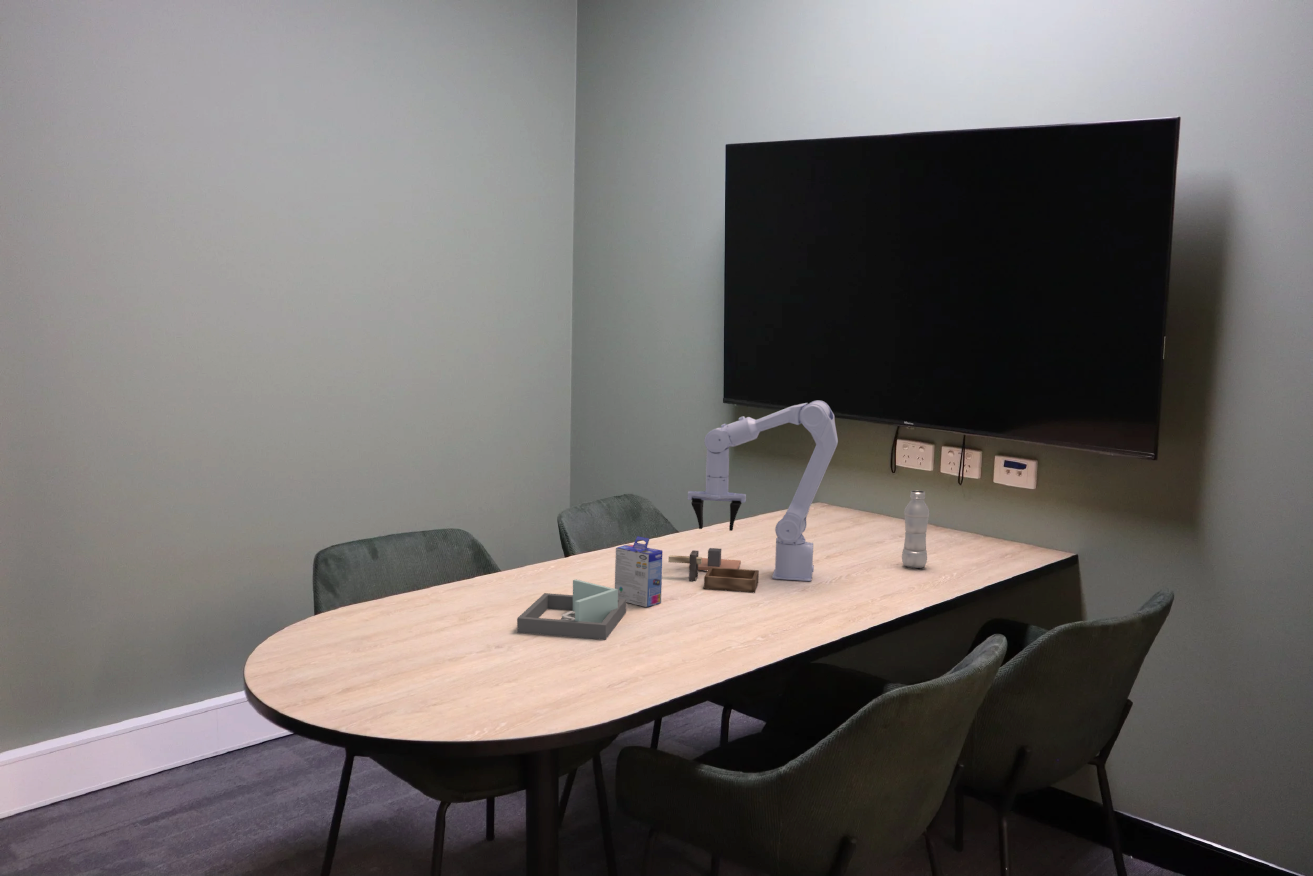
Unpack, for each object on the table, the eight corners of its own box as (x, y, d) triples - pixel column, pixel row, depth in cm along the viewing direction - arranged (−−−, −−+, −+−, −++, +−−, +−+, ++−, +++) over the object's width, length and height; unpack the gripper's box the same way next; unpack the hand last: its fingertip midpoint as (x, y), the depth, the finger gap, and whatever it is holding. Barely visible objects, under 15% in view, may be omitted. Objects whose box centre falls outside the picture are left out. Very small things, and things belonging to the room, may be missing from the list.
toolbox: (758, 581, 244) (759, 554, 243) (754, 592, 234) (755, 565, 233) (691, 576, 247) (692, 550, 246) (685, 587, 237) (685, 560, 236)
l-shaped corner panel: (575, 612, 218) (575, 579, 217) (617, 624, 210) (617, 589, 209) (536, 626, 208) (536, 591, 207) (578, 638, 201) (578, 602, 200)
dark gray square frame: (626, 612, 217) (626, 599, 216) (605, 639, 199) (605, 625, 198) (544, 606, 220) (544, 593, 220) (517, 632, 202) (517, 618, 202)
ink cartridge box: (663, 603, 224) (664, 539, 223) (647, 608, 220) (649, 544, 218) (628, 594, 230) (629, 533, 228) (613, 600, 226) (614, 537, 224)
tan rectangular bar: (701, 562, 244) (701, 557, 244) (700, 564, 243) (701, 558, 243) (669, 560, 246) (669, 555, 246) (668, 562, 244) (668, 556, 244)
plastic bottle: (924, 564, 262) (928, 489, 260) (928, 571, 255) (933, 494, 253) (899, 563, 263) (903, 488, 260) (903, 570, 256) (907, 493, 253)
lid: (740, 566, 258) (741, 545, 258) (736, 575, 250) (737, 553, 249) (694, 563, 261) (695, 542, 260) (689, 572, 252) (689, 550, 251)
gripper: (686, 477, 248) (685, 530, 250) (744, 480, 246) (743, 534, 247) (690, 472, 255) (689, 524, 257) (747, 475, 252) (745, 528, 254)
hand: (716, 529), depth 253 cm, fingers open, 7 cm apart
